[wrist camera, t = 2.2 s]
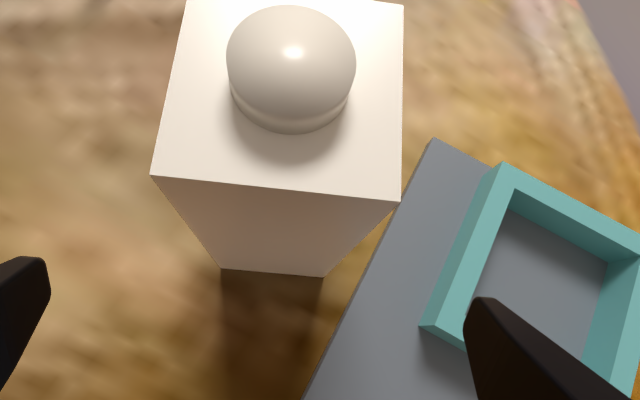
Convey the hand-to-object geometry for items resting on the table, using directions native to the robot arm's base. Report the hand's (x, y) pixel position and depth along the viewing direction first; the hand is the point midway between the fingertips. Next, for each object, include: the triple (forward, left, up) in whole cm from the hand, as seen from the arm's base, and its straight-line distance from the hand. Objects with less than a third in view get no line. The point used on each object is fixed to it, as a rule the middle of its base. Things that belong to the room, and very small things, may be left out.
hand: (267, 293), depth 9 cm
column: (+4, +2, -11) cm, 12 cm away
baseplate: (+3, -9, -11) cm, 15 cm away
